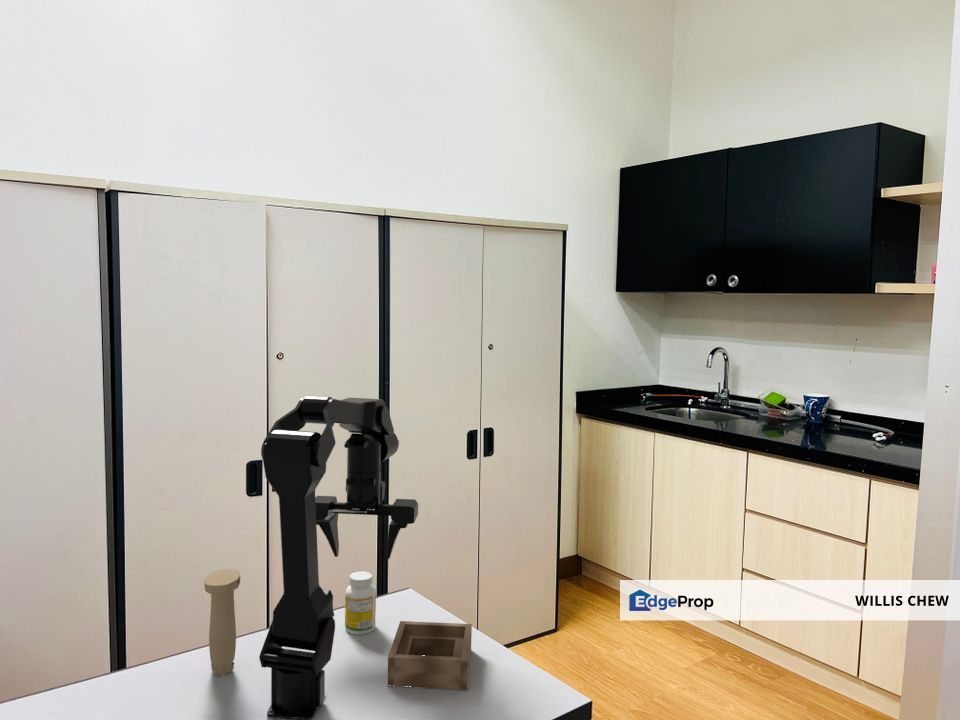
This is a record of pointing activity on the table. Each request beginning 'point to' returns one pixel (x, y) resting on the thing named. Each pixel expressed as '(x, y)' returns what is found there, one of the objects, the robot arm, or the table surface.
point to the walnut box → (430, 655)
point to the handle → (222, 619)
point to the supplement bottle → (360, 604)
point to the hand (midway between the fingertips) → (362, 557)
